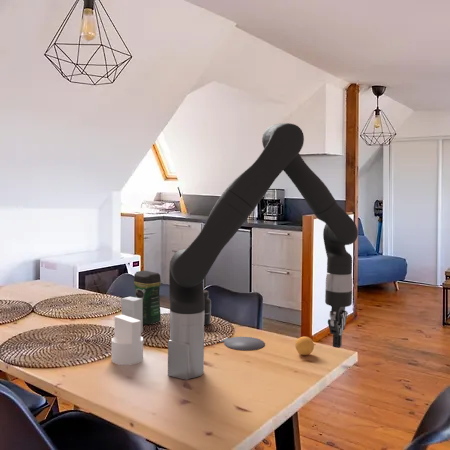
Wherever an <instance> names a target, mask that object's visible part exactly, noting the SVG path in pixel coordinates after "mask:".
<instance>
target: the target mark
mask: <svg viewBox="0 0 450 450" xmlns="http://www.w3.org/2000/svg"><path fill="white" fill-rule="evenodd" d="M223 344H224V346H225V347H227V348H228V349H233V350H237V351H257V350H261V349H263V348H264V347H265V345H266V344H265V342H264V340H261V339H260V338H256V337H252V336H235V337H234V336H233V337H230V338H229V337H228V339H227V340H225V341H223Z"/></svg>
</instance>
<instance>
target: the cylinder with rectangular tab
mask: <svg viewBox="0 0 450 450" xmlns="http://www.w3.org/2000/svg"><path fill="white" fill-rule="evenodd" d="M141 335H142V334H141V320H138V319H135V318H132V317H129V316H126V315H122V314H119V315H115V316H114V336H113V337H112V338H111V346H110V347H111V348H110V349H111V353H110V355H111V362H112V363H113V364H116V365H119V366H131V365H136V364H139V363H141V362H143V360H144V337H143V336H141Z"/></svg>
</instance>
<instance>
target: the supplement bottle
mask: <svg viewBox="0 0 450 450" xmlns="http://www.w3.org/2000/svg"><path fill="white" fill-rule="evenodd" d="M203 292H204V300H205V311H204V325H207V326H209V325H210V324H211V317H212V300H211V298H209V296H210V294H209V293H210V292H209V290H206V289H203ZM208 324H209V325H208Z"/></svg>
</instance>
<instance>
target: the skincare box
mask: <svg viewBox="0 0 450 450" xmlns="http://www.w3.org/2000/svg"><path fill="white" fill-rule="evenodd" d="M121 315H126V316H129V317H132V318H135V319H138V320H141V332H144V331H143V328H144V327H143V325H144V324H143V299H141V298H135V296H127V297H122V298H121Z"/></svg>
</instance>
